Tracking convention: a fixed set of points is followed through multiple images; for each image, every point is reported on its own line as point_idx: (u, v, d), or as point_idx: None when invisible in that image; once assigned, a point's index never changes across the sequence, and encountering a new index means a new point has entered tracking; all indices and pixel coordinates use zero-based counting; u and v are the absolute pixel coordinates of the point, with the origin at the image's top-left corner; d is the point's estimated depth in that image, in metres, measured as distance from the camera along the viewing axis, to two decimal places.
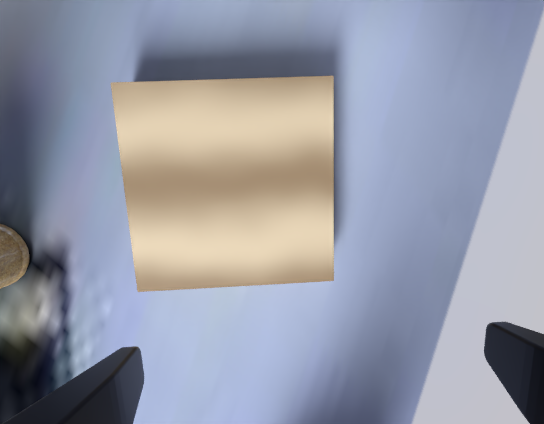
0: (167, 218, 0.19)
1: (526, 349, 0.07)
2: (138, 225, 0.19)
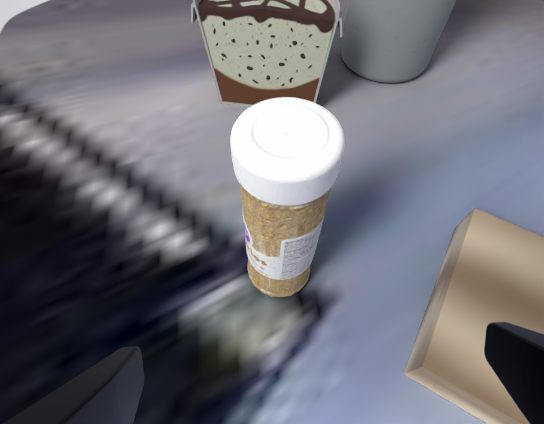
0: (483, 316, 0.19)
1: (526, 349, 0.07)
2: (452, 306, 0.20)
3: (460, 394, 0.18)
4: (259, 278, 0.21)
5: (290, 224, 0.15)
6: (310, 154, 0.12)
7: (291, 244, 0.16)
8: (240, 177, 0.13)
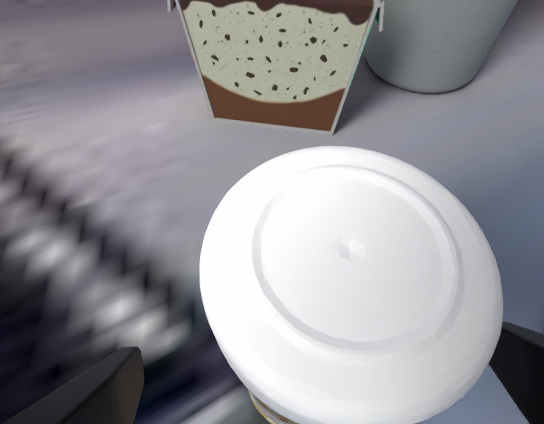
0: None
1: (526, 349, 0.07)
2: None
3: None
4: None
5: None
6: (424, 331, 0.04)
7: None
8: None
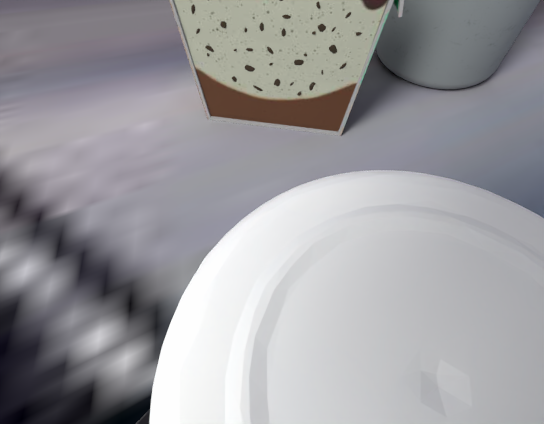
0: None
1: None
2: None
3: None
4: None
5: None
6: None
7: None
8: None
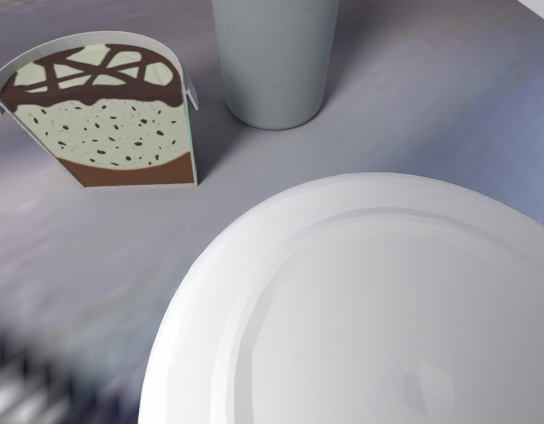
0: None
1: None
2: None
3: None
4: None
5: None
6: None
7: None
8: None
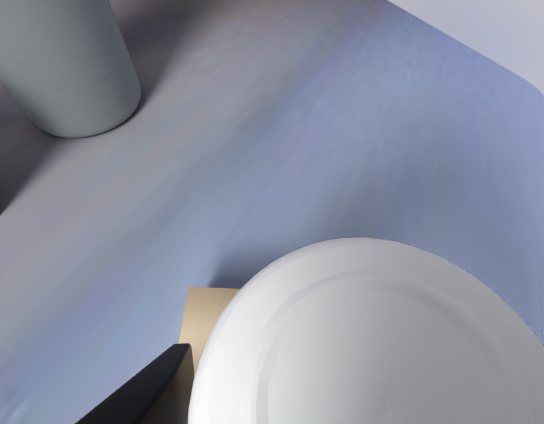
0: None
1: None
2: None
3: None
4: None
5: None
6: None
7: None
8: None
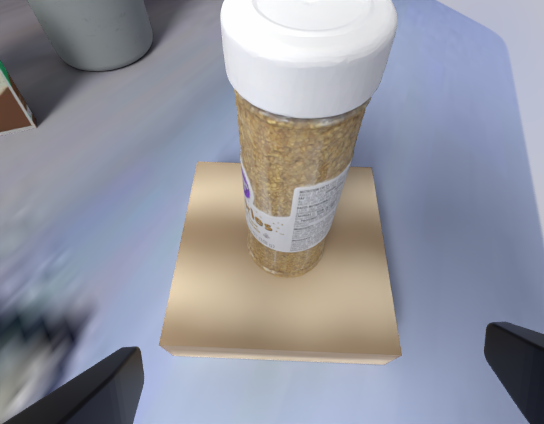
0: (215, 263, 0.19)
1: (526, 349, 0.07)
2: (184, 268, 0.19)
3: (210, 350, 0.17)
4: (262, 252, 0.17)
5: (308, 158, 0.10)
6: (346, 26, 0.08)
7: (308, 195, 0.12)
8: (235, 75, 0.09)
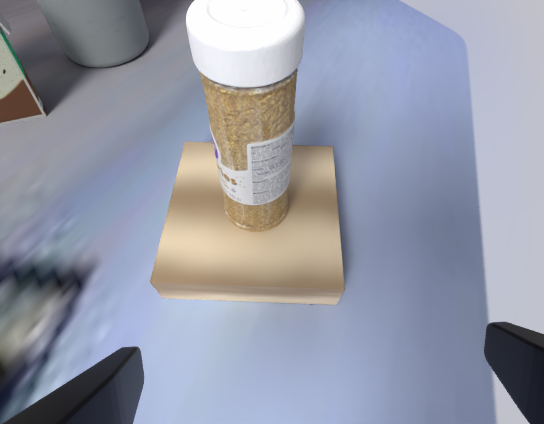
0: (197, 221, 0.23)
1: (526, 349, 0.07)
2: (172, 225, 0.23)
3: (191, 288, 0.21)
4: (233, 208, 0.21)
5: (253, 119, 0.14)
6: (266, 25, 0.12)
7: (258, 150, 0.16)
8: (196, 58, 0.13)
